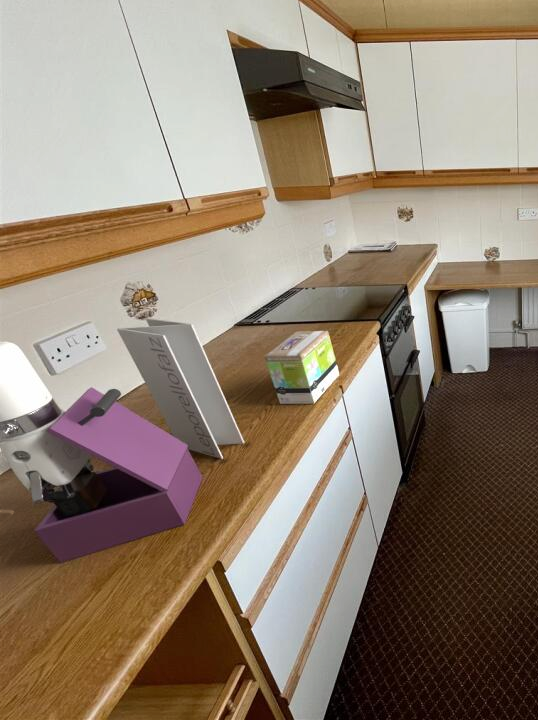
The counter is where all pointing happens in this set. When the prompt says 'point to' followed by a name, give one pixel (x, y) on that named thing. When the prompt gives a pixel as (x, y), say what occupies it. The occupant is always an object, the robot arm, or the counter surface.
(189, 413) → the brochure
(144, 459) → the file lid
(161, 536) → the counter surface
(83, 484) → the block
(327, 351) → the tea box
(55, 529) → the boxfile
